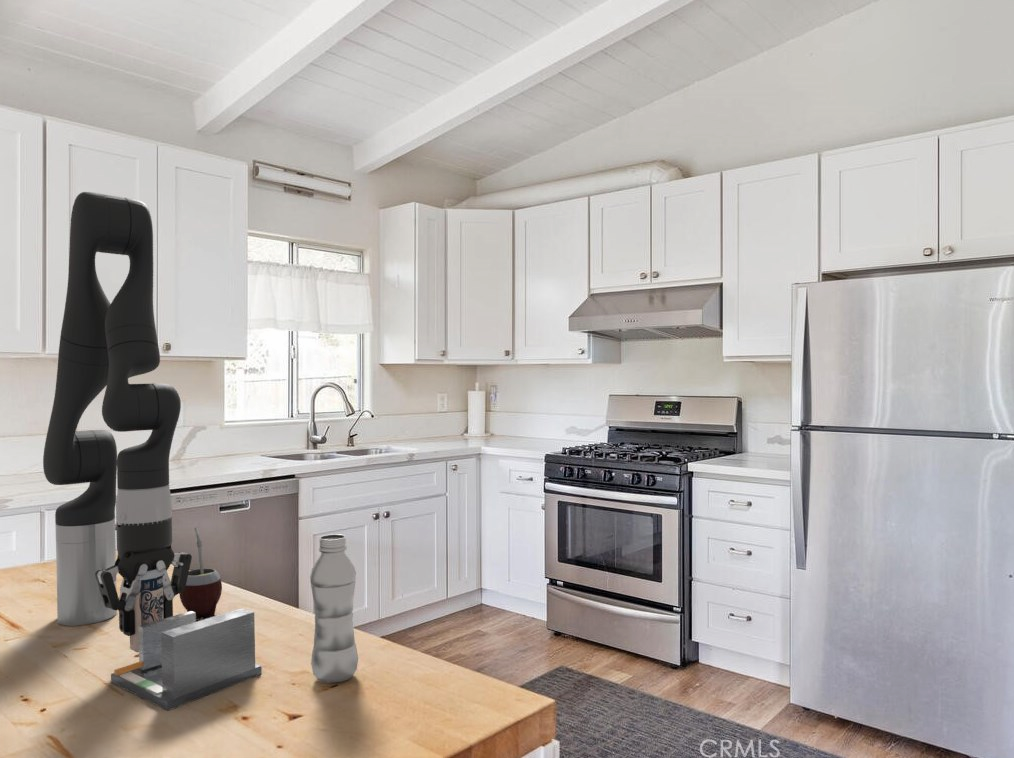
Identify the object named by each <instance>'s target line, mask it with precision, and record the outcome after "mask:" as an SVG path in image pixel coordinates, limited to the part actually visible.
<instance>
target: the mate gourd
mask: <svg viewBox="0 0 1014 758" xmlns="http://www.w3.org/2000/svg"><path fill="white" fill-rule="evenodd" d="M194 531H195V536H196V546H197V550H198V560H199V568H196V569H192V570H189V573H188V578H187V583H186V587H185V591H184V592H183V593H179V594H178V595H179V599H180V602H181V604H182V606H183V608H184V609H185V610H186V612H189V611H193V612H196V621H197V620H200V619H208V618H211V617H214V616H217V615H216V614H215V613H216V609H217V604H218V603H219V601H220V599H221V595H222V591H223V585H222V579H221V575H220V574H219V572H218V571H217V570H216V569H214V568H208V567H207V568H204V564H203V563H204V561H203V551H202V550H203V549H202V547H203V543H202V542H203V541H202V540H201V536H200V532H199V528H198V527H197V526H195V527H194Z"/></svg>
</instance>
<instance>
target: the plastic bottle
mask: <svg viewBox="0 0 1014 758" xmlns="http://www.w3.org/2000/svg"><path fill="white" fill-rule="evenodd" d="M346 539H347V538H346V535H345V534H342V533H341V534H339V533H338V534H337V533H331V534H325V535H321V536H320V537H319V547H318V551H319V552H320V555H319V556H318V559H317V560H316V561H315V562H314V565H313V566H312V568H311V570H310V575H309V583H310V589H311V595H312V599H313V600H312V601H313V613H314V636H313V638H314V639H313V648H312V653H311V661H310V665H311V670H312V674H313V676H314V677H315V679H316V680H317V681H319V682H321V683H325V684H331V683H332V684H334V683H335V684H336V683H341V682H345V681H347V680H350V679H351V678H352V677H353V676H354V675H355V673H356V671H357V670H358V664H359V654H358V648H357V644H356V639H355V629H354V628H355V627H354V621H353V619H354V618H353V617H354V612H353V611H354V596H355V589H356V580H357V572H356V568H355V565H354V564H353V562H352V561H351V559H350V558H349V556H347V554H346V552H345V551H346V550H347V544H346V543H347V540H346Z"/></svg>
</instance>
